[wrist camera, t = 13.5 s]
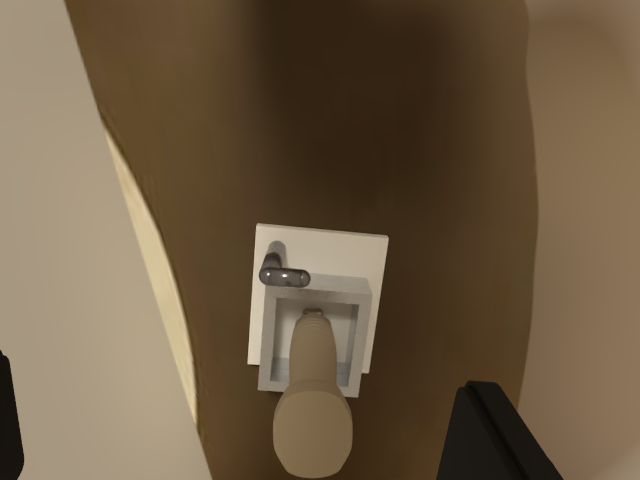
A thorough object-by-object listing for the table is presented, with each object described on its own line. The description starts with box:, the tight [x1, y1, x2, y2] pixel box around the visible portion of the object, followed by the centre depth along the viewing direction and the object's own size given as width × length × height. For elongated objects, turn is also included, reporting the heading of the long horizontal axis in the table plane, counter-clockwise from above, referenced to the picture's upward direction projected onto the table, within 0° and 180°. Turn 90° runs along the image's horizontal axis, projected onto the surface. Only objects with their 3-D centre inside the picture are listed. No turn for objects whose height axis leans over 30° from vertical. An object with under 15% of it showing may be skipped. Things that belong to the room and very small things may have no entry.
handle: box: [273, 308, 353, 478], centre depth 33 cm, size 5×6×15 cm
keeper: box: [248, 223, 389, 398], centre depth 36 cm, size 14×12×9 cm
